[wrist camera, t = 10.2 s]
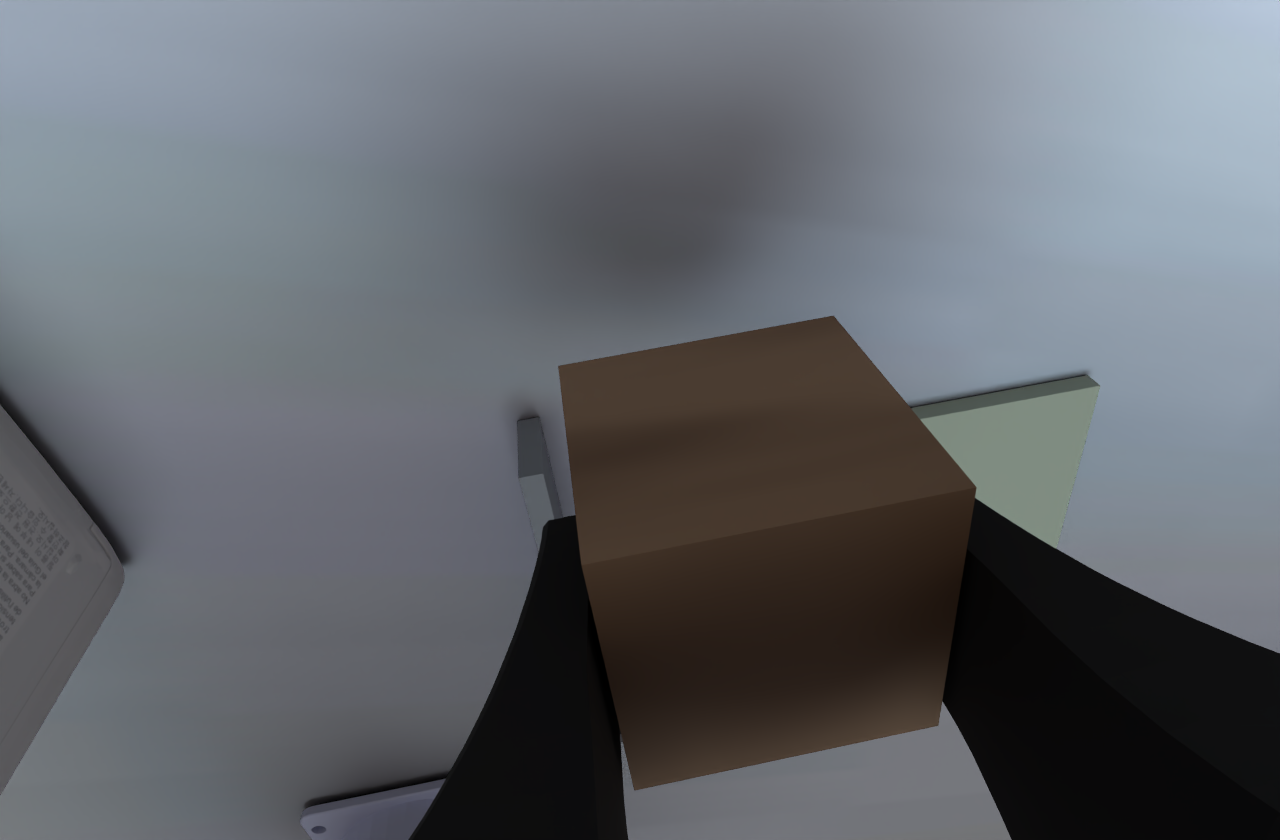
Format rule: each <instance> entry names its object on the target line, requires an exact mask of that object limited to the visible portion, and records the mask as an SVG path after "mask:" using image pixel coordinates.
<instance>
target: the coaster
mask: <svg viewBox="0 0 1280 840" xmlns="http://www.w3.org/2000/svg"><path fill="white" fill-rule="evenodd" d="M1099 389H1100V385H1099V384H1098V383H1096V382H1095V381H1094V380H1093V379H1091V378H1090V377H1089V376H1088V375H1086V376H1081V377H1075V378H1070V379H1064V380H1059V381H1054V382H1048V383H1043V384H1038V385H1032V386H1027V387H1021V388H1016V389H1011V390H1005V391H1000V392H994V393H989V394H984V395H978V396H973V397H968V398H962V399H957V400H951V401H946V402H941V403H935V404H930V405H925V406H919V407H914V408H911V409H912V410H913V412H914V413H915V414H916V415H917V416H918V418H919V419H920V420H921V421H922V422H923V424H924V425H925V426H926V427H927V428H928V430H929V431H930V432H931V433H932V434H933V436H934V437H935V438H936V439H937V440H938V442H939V443H940V444H941V445H942V446H943V448H944V449H945V450H946V451H947V452H948V454H949V455H950V456H951V457H952V458H953V459H954V461H955V462H956V463H957V464H958V465H959V467H960V468H961V469H962V470H963V471H964V473H965V474H966V475H967V476H968V477H969V479H970V480H971V481H972V482H973V483H974V485H975V486H976V487H977V489H976V495H975V498H976V499H978V500H979V501H981V502H982V503H984V504H985V505H987V506H988V507H990V508H991V509H993V510H994V511H996V512H997V513H999V514H1000V515H1002V516H1004V517H1005V518H1007V519H1008V520H1010V521H1011V522H1013V523H1015V524H1016V525H1018V526H1019V527H1021V528H1023V529H1024V530H1026V531H1027V532H1029V533H1031V534H1032V535H1034V536H1036V537H1037V538H1039V539H1041V540H1042V541H1044V542H1045V543H1047V544H1049V545H1051V546H1052V547H1054V548H1057V544H1058V541H1059V537H1060V533H1061V529H1062V526H1063V522H1064V518H1065V515H1066V511H1067V507H1068V504H1069V500H1070V496H1071V492H1072V489H1073V485H1074V481H1075V478H1076V474H1077V470H1078V467H1079V463H1080V459H1081V456H1082V452H1083V448H1084V444H1085V441H1086V437H1087V433H1088V430H1089V426H1090V422H1091V419H1092V415H1093V411H1094V407H1095V404H1096V400H1097V396H1098V393H1099Z"/></svg>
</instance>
